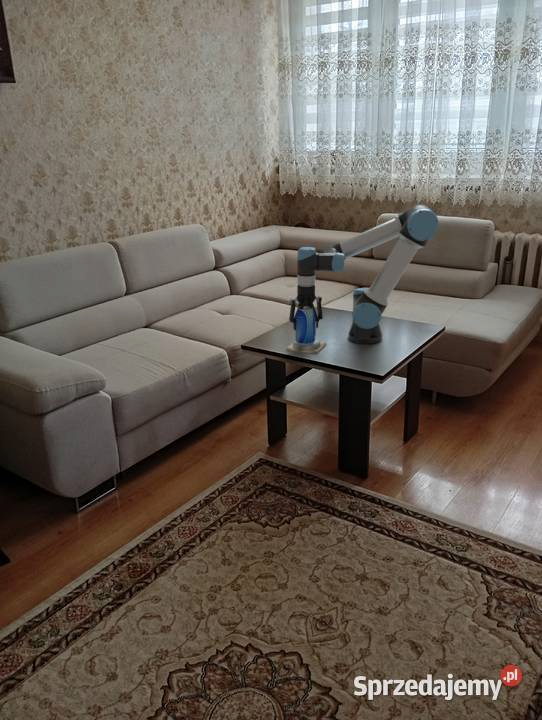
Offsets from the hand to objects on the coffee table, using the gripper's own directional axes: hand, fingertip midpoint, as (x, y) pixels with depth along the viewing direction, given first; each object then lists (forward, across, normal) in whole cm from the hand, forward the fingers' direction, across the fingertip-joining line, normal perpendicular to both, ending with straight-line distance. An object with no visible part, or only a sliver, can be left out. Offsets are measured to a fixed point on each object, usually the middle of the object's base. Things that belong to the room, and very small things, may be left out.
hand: (305, 335), depth 265 cm
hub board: (+5, 0, 0) cm, 5 cm away
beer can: (+3, +1, +1) cm, 3 cm away
